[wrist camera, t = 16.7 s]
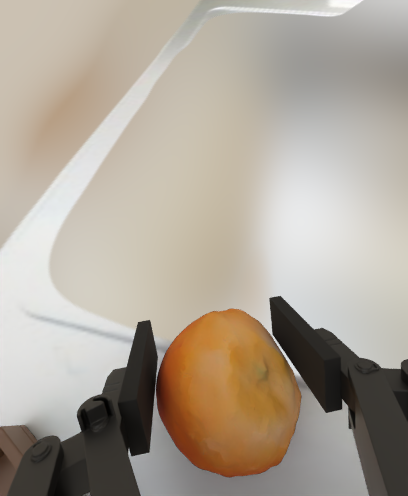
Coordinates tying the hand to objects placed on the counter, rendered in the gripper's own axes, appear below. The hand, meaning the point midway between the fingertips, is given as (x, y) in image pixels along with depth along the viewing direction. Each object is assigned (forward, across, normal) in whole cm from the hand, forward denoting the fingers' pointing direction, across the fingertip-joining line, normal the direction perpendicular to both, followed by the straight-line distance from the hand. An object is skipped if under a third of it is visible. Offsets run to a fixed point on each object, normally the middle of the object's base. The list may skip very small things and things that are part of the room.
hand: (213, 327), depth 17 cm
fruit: (0, 0, -5) cm, 5 cm away
